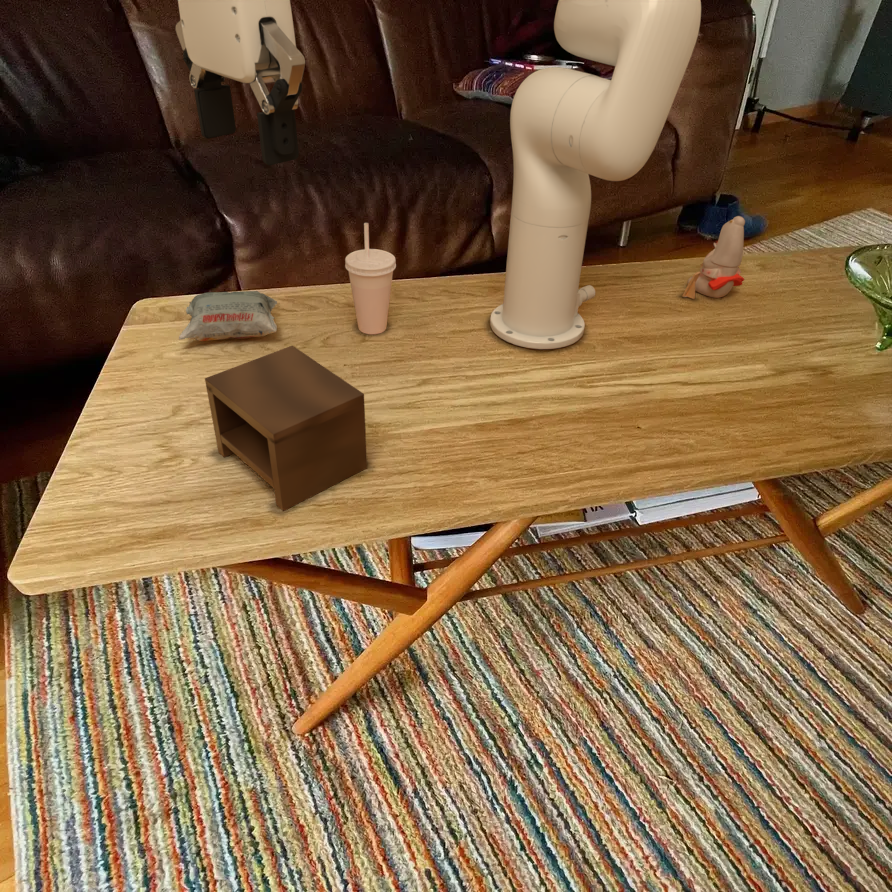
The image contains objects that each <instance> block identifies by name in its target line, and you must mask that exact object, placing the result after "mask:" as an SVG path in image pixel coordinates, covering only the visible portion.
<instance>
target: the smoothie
mask: <svg viewBox="0 0 892 892" xmlns="http://www.w3.org/2000/svg"><path fill="white" fill-rule="evenodd" d="M369 224H370V223H369V222H364V223H363V234H364V235H363V236H364V237H363V238H364V248H363V249H359V250H358V249H357V250H355V251H353V252H352V251H351V252H350V253H349V254H347V255H346V256H345V258H344V261H345V262H344V263H345V265H344V268H345V270H347V271H348V278H349V282H350V288H351V295H352V299H353V303H354V304H353V305H354V311H355V317H356V322H357V329H358V330H359V331H360V332H361V333H363V334H366V335H378V334H382V333H384V332H385V331H386V330H387V325H388V316H389V307H390V301H391V292H392V284H393V275H394V271H395V270H396V267H397V264H396V260H397V259H396V257H395V255H394V254H392V253H391V252H389V251H386V250H382V249H377V248H370V228H369V227H370V225H369Z"/></svg>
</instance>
